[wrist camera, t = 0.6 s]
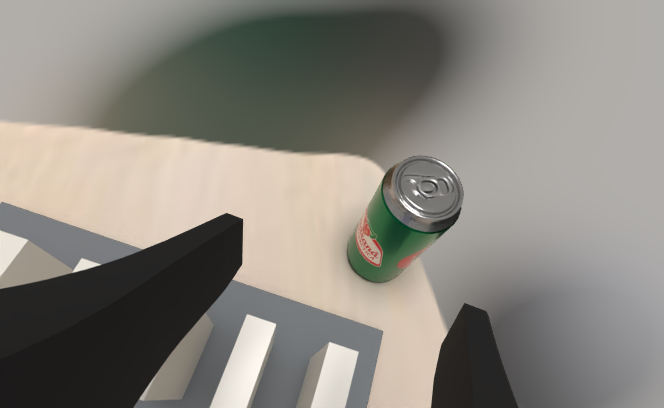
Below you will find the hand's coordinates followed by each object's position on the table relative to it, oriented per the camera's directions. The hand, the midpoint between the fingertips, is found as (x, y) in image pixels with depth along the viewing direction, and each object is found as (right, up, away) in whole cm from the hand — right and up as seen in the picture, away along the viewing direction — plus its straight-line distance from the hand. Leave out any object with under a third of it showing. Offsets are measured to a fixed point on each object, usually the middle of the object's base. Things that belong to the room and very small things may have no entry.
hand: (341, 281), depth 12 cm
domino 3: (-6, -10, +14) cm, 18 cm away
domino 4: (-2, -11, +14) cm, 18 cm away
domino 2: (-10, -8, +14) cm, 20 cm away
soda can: (+3, -2, +21) cm, 21 cm away
